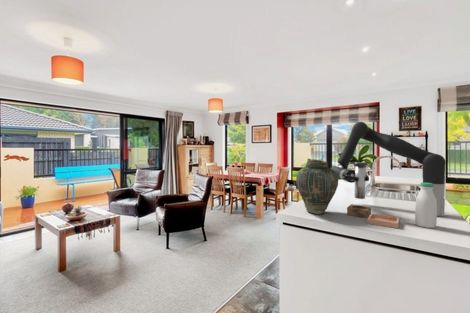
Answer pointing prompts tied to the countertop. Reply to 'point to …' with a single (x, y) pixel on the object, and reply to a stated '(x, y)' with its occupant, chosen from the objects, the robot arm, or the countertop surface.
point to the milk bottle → (426, 207)
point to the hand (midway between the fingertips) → (362, 179)
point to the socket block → (359, 211)
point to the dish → (383, 220)
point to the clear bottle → (360, 179)
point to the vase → (316, 185)
